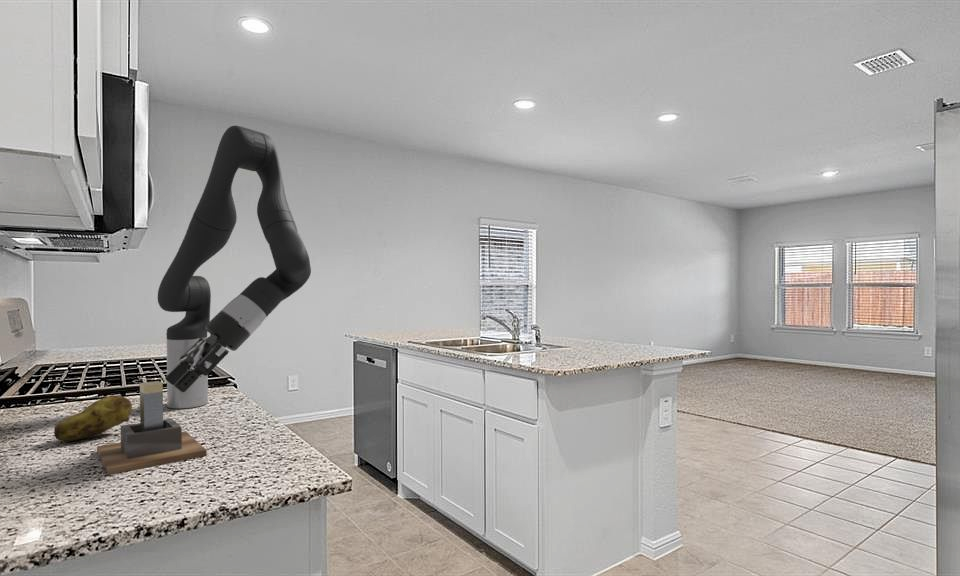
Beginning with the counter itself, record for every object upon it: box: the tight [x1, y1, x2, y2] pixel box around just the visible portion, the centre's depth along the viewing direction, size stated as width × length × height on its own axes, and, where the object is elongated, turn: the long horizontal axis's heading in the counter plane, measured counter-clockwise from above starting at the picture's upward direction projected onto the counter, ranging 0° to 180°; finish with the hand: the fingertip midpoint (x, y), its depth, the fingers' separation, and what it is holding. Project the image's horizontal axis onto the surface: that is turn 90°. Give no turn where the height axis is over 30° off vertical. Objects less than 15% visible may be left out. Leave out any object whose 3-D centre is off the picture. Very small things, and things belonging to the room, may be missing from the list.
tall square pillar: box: [139, 380, 164, 432], centre depth 100 cm, size 4×3×12 cm
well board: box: [96, 418, 208, 476], centre depth 100 cm, size 16×15×5 cm
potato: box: [53, 394, 133, 443], centre depth 111 cm, size 8×13×8 cm, turn 123°
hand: (173, 385), depth 102 cm, fingers open, 8 cm apart
